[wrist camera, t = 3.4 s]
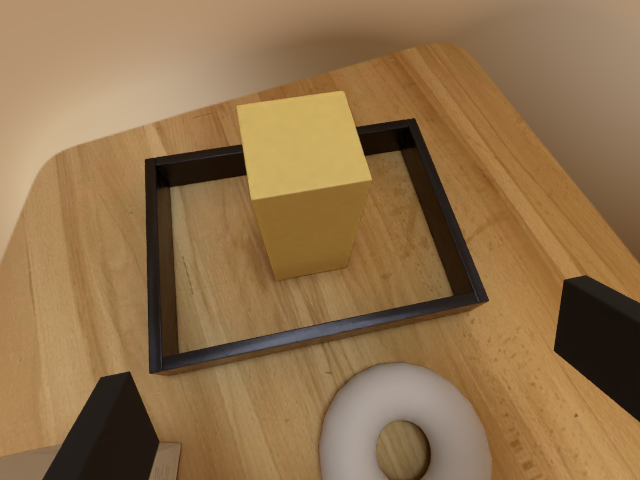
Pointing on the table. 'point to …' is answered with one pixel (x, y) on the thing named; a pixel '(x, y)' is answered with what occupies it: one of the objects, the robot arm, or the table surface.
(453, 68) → the table surface
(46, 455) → the small box
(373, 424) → the donut
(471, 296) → the frame
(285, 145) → the carton
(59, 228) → the table surface
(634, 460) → the table surface
